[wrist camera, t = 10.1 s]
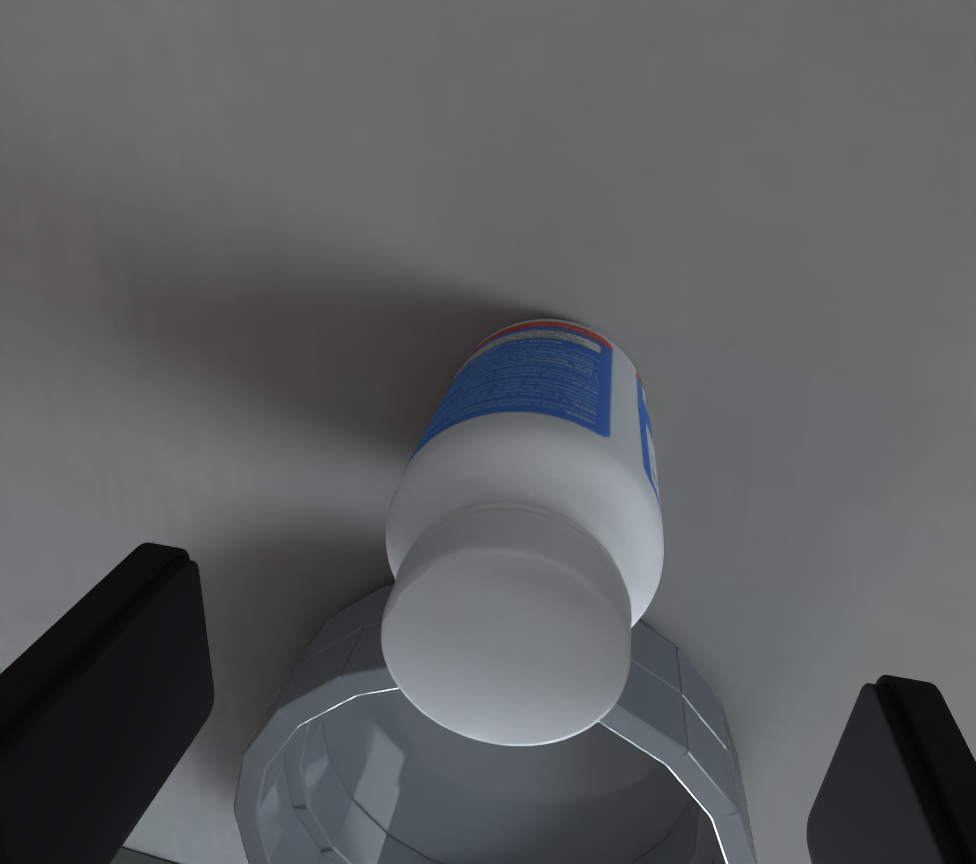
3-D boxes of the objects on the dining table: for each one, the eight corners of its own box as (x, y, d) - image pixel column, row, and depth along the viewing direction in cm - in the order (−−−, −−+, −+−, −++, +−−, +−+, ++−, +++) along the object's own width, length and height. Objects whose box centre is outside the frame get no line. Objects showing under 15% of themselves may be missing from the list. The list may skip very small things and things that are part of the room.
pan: (665, 515, 21) (676, 615, 17) (776, 876, 26) (805, 1018, 22) (220, 613, 25) (144, 711, 21) (393, 904, 30) (358, 1027, 26)
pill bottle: (415, 402, 21) (263, 627, 12) (550, 271, 18) (489, 426, 10) (548, 528, 22) (500, 821, 13) (691, 417, 19) (753, 679, 11)
